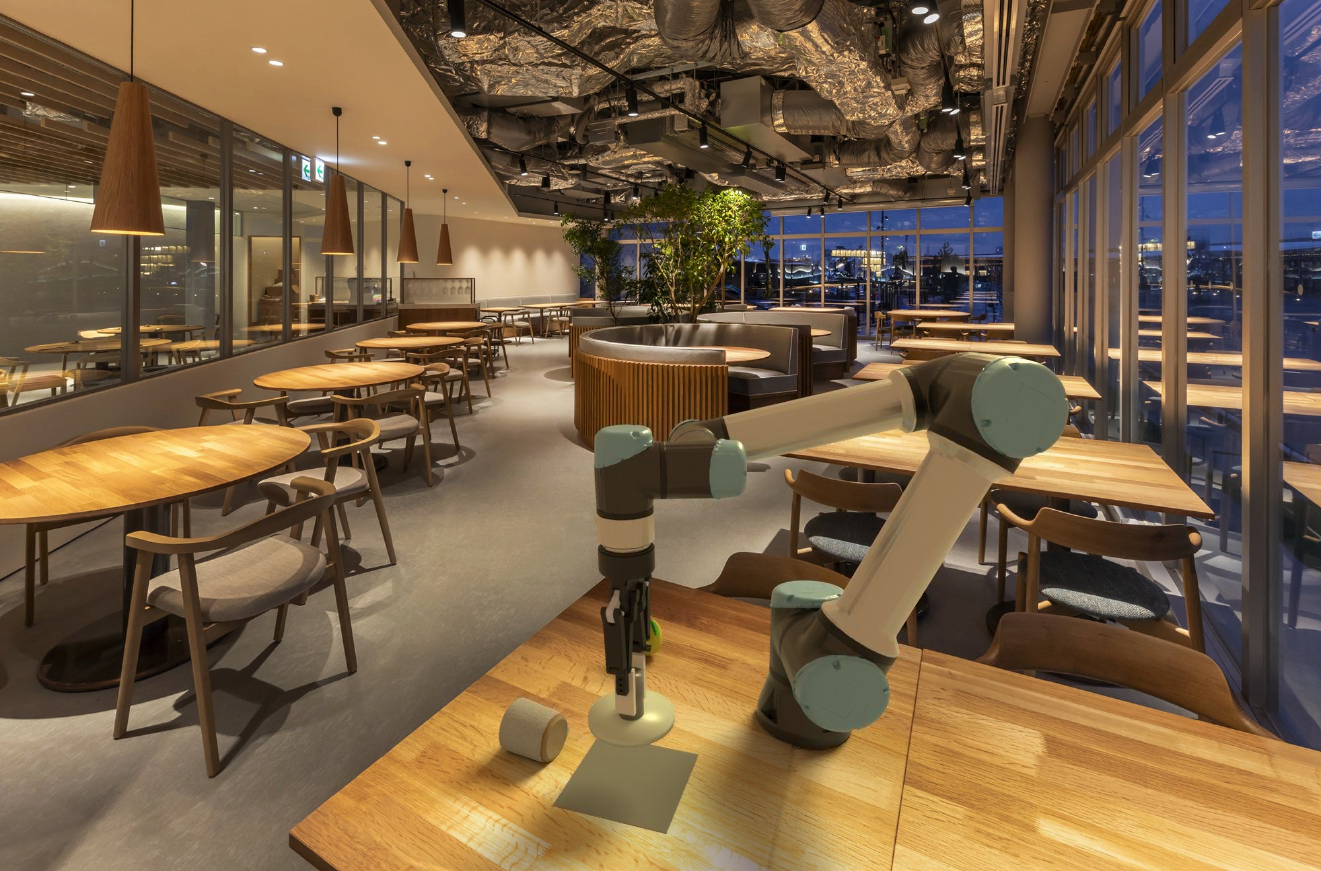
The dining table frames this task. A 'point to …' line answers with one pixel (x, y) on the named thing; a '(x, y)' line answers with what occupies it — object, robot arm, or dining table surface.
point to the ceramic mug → (533, 730)
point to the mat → (629, 784)
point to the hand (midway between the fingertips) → (631, 703)
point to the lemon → (654, 637)
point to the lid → (632, 718)
